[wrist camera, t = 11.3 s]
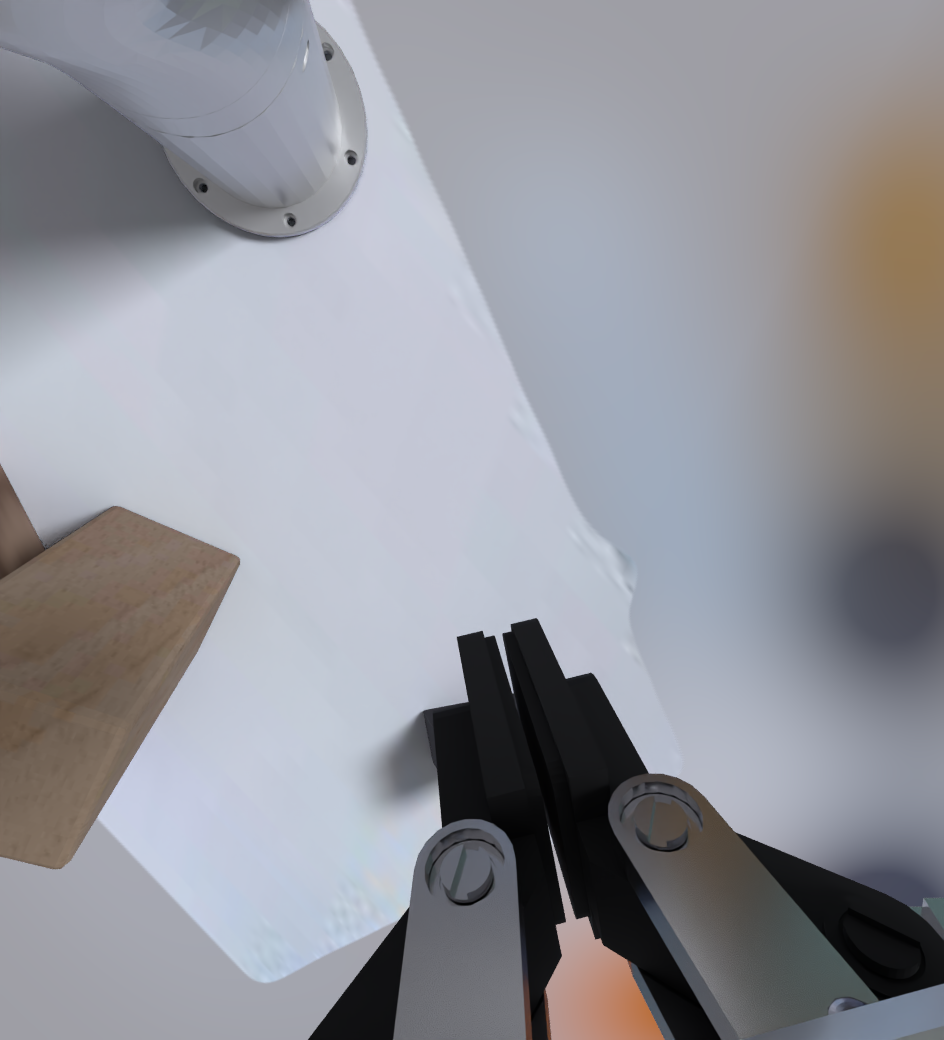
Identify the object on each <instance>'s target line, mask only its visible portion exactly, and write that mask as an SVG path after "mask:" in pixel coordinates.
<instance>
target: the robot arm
mask: <svg viewBox="0 0 944 1040" xmlns="http://www.w3.org/2000/svg"><path fill="white" fill-rule="evenodd" d="M0 48H3V49H6V50H9V51H12V52H15V53H18V54H21V55H24V56H27V57H30V58H33V59H36V60H39V61H42V62H45V63H47V64H49V65H51V66H53V67H55V68H57V69H58V70H60V71H61V72H63V73H65V74H66V75H68V76H69V77H71V78H72V79H74V80H75V81H77V82H78V83H80V84H81V85H82V86H84V87H85V88H87V89H88V90H89V91H91V92H92V93H93V94H95V95H96V96H97V97H99V98H100V99H102V100H103V101H104V102H106V103H107V104H108V105H110V106H111V107H112V108H114V109H115V110H116V111H118V112H119V113H120V114H122V115H123V116H124V117H126V118H127V119H128V120H130V121H131V122H132V123H134V124H135V125H136V126H138V127H139V128H140V129H142V130H143V131H145V132H146V133H147V134H149V135H150V136H151V137H153V138H154V139H155V140H157V141H158V142H159V143H161V145H162V147H163V150H164V152H165V154H166V157H167V159H168V161H169V163H170V165H171V166H172V168H173V170H174V171H175V173H176V174H177V176H178V178H179V179H180V181H181V182H182V183H183V185H184V186H185V187H186V188H187V189H188V190H189V192H190V193H191V194H192V195H193V196H194V197H195V199H196V200H197V201H199V202H200V203H201V204H202V205H203V206H204V207H206V208H207V209H208V210H209V211H210V212H212V213H213V214H214V215H216V216H217V217H219V218H220V219H222V220H224V221H225V222H227V223H229V224H231V225H233V226H235V227H237V228H239V229H241V230H244V231H246V232H250V233H254V234H257V235H261V236H268V237H289V236H297V235H302V234H304V233H307V232H310V231H312V230H315V229H317V228H319V227H321V226H322V225H324V224H325V223H327V222H328V221H330V220H331V219H333V218H334V217H335V216H336V215H337V214H338V213H339V212H340V211H341V210H342V209H343V208H344V207H345V205H346V204H347V202H348V201H349V199H350V198H351V196H352V194H353V193H354V191H355V190H356V187H357V185H358V182H359V180H360V177H361V175H362V172H363V168H364V163H365V158H366V153H367V123H366V113H365V108H364V104H363V99H362V95H361V91H360V88H359V85H358V83H357V80H356V78H355V75H354V73H353V70H352V68H351V66H350V64H349V63H348V61H347V59H346V57H345V56H344V54H343V52H342V50H341V49H340V47H339V46H338V45H337V43H336V42H335V41H334V40H333V38H332V37H331V36H330V35H329V34H328V32H327V31H326V30H325V29H324V28H323V27H322V26H321V25H320V24H319V23H318V22H316V21H315V19H314V16H313V12H312V9H311V5H310V2H309V0H0ZM326 54H330V55H331V56H332V59H331V60H329V61H326V59H325V55H326ZM350 157H353V158H354V159H355V160H356V162H355V164H354V165H350V164H349V163H348V159H349V158H350ZM203 185H207V187H208V190H207V192H206V193H203V192H202V189H201V187H202V186H203ZM291 218H293V219H295V225H294V226H289V224H288V221H289V219H291ZM457 641H458V647H459V652H460V657H461V663H462V668H463V674H464V679H465V684H466V690H467V695H468V701H469V702H468V703H464V704H460V705H456V706H452V707H448V708H444V709H439V710H435V711H433V727H434V738H435V750H436V762H437V773H438V785H439V796H440V808H441V819H442V829H440V830H438V831H437V832H436V833H435V834H434V835H433V836H432V837H431V838H430V839H429V840H428V841H427V842H426V843H425V845H424V847H423V848H422V850H421V851H420V853H419V855H418V858H417V861H416V865H415V869H414V874H413V882H412V891H411V899H410V907H409V908H408V909H407V911H406V912H405V913H404V915H403V916H402V917H401V919H400V920H399V921H398V922H397V924H396V925H395V926H394V928H393V929H392V930H391V932H390V933H389V934H388V936H387V937H386V938H385V939H384V941H383V942H382V943H381V945H380V946H379V947H378V949H377V950H376V951H375V953H374V954H373V955H372V956H371V958H370V959H369V961H368V962H367V963H366V964H365V966H364V967H363V968H362V970H361V971H360V972H359V974H358V975H357V976H356V977H355V979H354V980H353V982H352V983H351V984H350V985H349V987H348V988H347V989H346V991H345V992H344V993H343V994H342V996H341V997H340V998H339V1000H338V1001H337V1002H336V1004H335V1005H334V1006H333V1008H332V1009H331V1010H330V1011H329V1013H328V1014H327V1016H326V1017H325V1018H324V1019H323V1021H322V1022H321V1023H320V1025H319V1026H318V1027H317V1029H316V1030H315V1031H314V1032H313V1034H312V1035H311V1036H310V1038H309V1039H308V1040H551V1030H550V1020H549V1008H548V999H547V994H546V990H545V988H546V986H547V984H548V982H549V980H550V978H551V976H552V974H553V972H554V970H555V968H556V966H557V964H558V962H559V960H560V959H561V957H562V954H561V950H560V945H559V940H558V935H557V930H556V925H557V924H561V923H564V922H566V919H565V913H564V909H563V904H562V898H561V893H560V888H559V882H558V877H557V872H556V866H555V861H554V856H553V851H552V845H551V840H550V835H549V830H550V834H551V837H552V840H553V844H554V847H555V850H556V854H557V857H558V861H559V864H560V867H561V871H562V874H563V877H564V881H565V884H566V888H567V891H568V894H569V898H570V901H571V905H572V908H573V911H574V914H575V917H576V919H579V918H583V917H587V916H588V918H589V921H590V924H591V927H592V930H593V933H594V937H595V939H599V938H601V940H602V943H603V945H604V946H606V947H608V948H609V949H610V950H612V951H614V952H616V953H617V954H619V955H620V956H622V957H624V958H625V959H627V961H628V964H629V967H630V969H631V972H632V975H633V977H634V979H635V981H636V983H637V985H638V987H639V989H640V991H641V993H642V995H643V997H644V999H645V1001H646V1003H647V1005H648V1007H649V1009H650V1011H651V1013H652V1015H653V1017H654V1019H655V1021H656V1023H657V1025H658V1027H659V1029H660V1031H661V1033H662V1035H663V1037H664V1039H665V1040H944V898H924V899H923V905H922V907H908V906H907V905H905V904H903V903H901V902H899V901H897V900H896V899H894V898H892V897H890V896H888V895H886V894H884V893H882V892H879V891H877V890H875V889H872V888H869V887H867V886H865V885H862V884H860V883H857V882H855V881H853V880H850V879H848V878H845V877H843V876H840V875H838V874H835V873H833V872H831V871H828V870H826V869H823V868H821V867H818V866H816V865H814V864H811V863H809V862H806V861H804V860H801V859H799V858H797V857H794V856H792V855H789V854H787V853H784V852H782V851H780V850H777V849H775V848H772V847H770V846H767V845H765V844H763V843H760V842H758V841H755V840H752V839H750V838H748V837H746V836H743V835H741V834H738V833H736V832H734V831H733V829H732V828H731V827H730V826H729V825H728V824H727V822H726V821H725V820H724V819H723V818H722V817H721V816H720V814H719V813H718V812H717V811H716V810H715V808H714V807H713V806H712V805H711V804H710V803H709V802H708V800H707V799H706V798H705V797H704V796H703V795H702V794H701V793H700V792H699V791H698V790H697V789H695V788H694V787H693V786H692V785H690V784H688V783H687V782H685V781H683V780H681V779H679V778H677V777H673V776H669V775H665V774H649V773H648V771H647V769H646V767H645V765H644V764H643V762H642V760H641V758H640V756H639V755H638V753H637V751H636V749H635V747H634V746H633V744H632V742H631V740H630V738H629V737H628V735H627V733H626V731H625V729H624V728H623V726H622V724H621V722H620V720H619V718H618V717H617V715H616V713H615V711H614V709H613V708H612V706H611V704H610V702H609V700H608V699H607V697H606V695H605V693H604V691H603V690H602V688H601V686H600V684H599V682H598V681H597V679H596V677H595V676H594V674H592V673H588V674H584V675H580V676H576V677H572V678H568V679H565V677H564V674H563V672H562V670H561V668H560V666H559V664H558V662H557V659H556V657H555V655H554V653H553V651H552V649H551V647H550V644H549V642H548V640H547V638H546V636H545V634H544V632H543V629H542V627H541V625H540V623H539V621H538V619H537V618H535V619H531V620H527V621H522V622H518V623H514V624H511V632H507V633H503V641H504V646H505V651H506V656H507V661H508V666H509V671H510V676H511V681H512V686H513V691H514V696H515V701H516V704H515V701H514V698H513V695H512V691H511V688H510V685H509V681H508V678H507V675H506V672H505V668H504V665H503V662H502V658H501V655H500V652H499V649H498V645H497V642H496V639H495V636H490V637H486V638H484V634H483V631H480V632H476V633H471V634H467V635H463V636H459V637H457ZM516 706H517V708H516ZM548 827H549V830H548Z"/></svg>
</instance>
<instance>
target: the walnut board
mask: <svg viewBox="0 0 944 1040" xmlns="http://www.w3.org/2000/svg"><path fill="white" fill-rule="evenodd" d="M44 551H45V549H44V547H43V545H42V543H41V541H40V539H39V537H38V535H37V533H36V531H35V530H34V528H33V526H32V524H31V522H30V520H29V518H28V516H27V514H26V512H25V510H24V509H23V507H22V505H21V503H20V501H19V499H18V497H17V495H16V493H15V491H14V489H13V487H12V486H11V484H10V482H9V480H8V478H7V476H6V474H5V472H4V470H3V468H2V466H1V465H0V580H1V579H2V578H4V577H6V576H7V575H9V574H10V573H12V572H13V571H15V570H16V569H18V568H19V567H21V566H22V565H24V564H25V563H27V562H29V561H30V560H32V559H33V558H35V557H36V556H38V555H39V554H41V553H42V552H44Z"/></svg>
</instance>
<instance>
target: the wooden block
mask: <svg viewBox="0 0 944 1040" xmlns="http://www.w3.org/2000/svg"><path fill="white" fill-rule="evenodd" d="M239 565H240V559H239V558H238V557H237V556H235V555H233V554H230V553H228V552H226V551H223V550H221V549H219V548H216V547H214V546H211V545H209V544H207V543H204V542H202V541H200V540H197V539H195V538H193V537H190V536H188V535H186V534H183V533H181V532H178V531H176V530H174V529H171V528H169V527H167V526H164V525H162V524H160V523H157V522H155V521H152V520H150V519H148V518H145V517H143V516H141V515H138V514H136V513H134V512H131V511H129V510H126V509H124V508H122V507H117V506H113V507H111V508H110V509H108V510H107V511H105V512H104V513H102V514H101V515H99V516H98V517H96V518H95V519H93V520H91V521H90V522H88V523H87V524H85V525H84V526H82V527H81V528H79V529H78V530H76V531H75V532H73V533H72V534H70V535H68V536H67V537H65V538H64V539H62V540H61V541H59V542H58V543H56V544H55V545H53V546H52V547H50V548H49V549H47V550H45V551H44V552H42V553H41V554H39V555H38V556H36V557H35V558H33V559H32V560H30V561H29V562H27V563H25V564H24V565H22V566H21V567H19V568H18V569H16V570H15V571H13V572H12V573H10V574H9V575H7V576H6V577H4V578H2V579H1V580H0V857H5V858H9V859H13V860H17V861H21V862H25V863H30V864H34V865H38V866H42V867H46V868H50V869H61V868H62V867H63V866H65V865H66V864H67V863H68V862H70V861H71V859H72V858H73V856H74V854H75V853H76V851H77V849H78V848H79V846H80V844H81V843H82V841H83V839H84V838H85V836H86V834H87V833H88V831H89V829H90V828H91V826H92V825H93V823H94V821H95V820H96V818H97V816H98V815H99V813H100V811H101V810H102V808H103V806H104V805H105V803H106V802H107V800H108V798H109V797H110V795H111V793H112V792H113V790H114V788H115V787H116V785H117V783H118V782H119V780H120V778H121V777H122V775H123V774H124V772H125V770H126V769H127V767H128V765H129V764H130V762H131V760H132V759H133V757H134V755H135V754H136V752H137V750H138V749H139V747H140V745H141V744H142V742H143V741H144V739H145V737H146V736H147V734H148V732H149V731H150V729H151V727H152V726H153V724H154V722H155V721H156V719H157V717H158V716H159V714H160V713H161V711H162V709H163V708H164V706H165V704H166V703H167V701H168V699H169V698H170V696H171V694H172V693H173V691H174V689H175V688H176V686H177V685H178V683H179V681H180V680H181V678H182V676H183V675H184V673H185V671H186V670H187V668H188V666H189V665H190V663H191V661H192V660H193V658H194V657H195V655H196V653H197V652H198V650H199V647H200V645H201V643H202V641H203V639H204V637H205V635H206V633H207V631H208V629H209V627H210V625H211V623H212V621H213V619H214V616H215V614H216V612H217V610H218V608H219V606H220V604H221V602H222V600H223V598H224V596H225V594H226V592H227V590H228V587H229V585H230V583H231V581H232V579H233V577H234V575H235V573H236V571H237V569H238V567H239Z"/></svg>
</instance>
